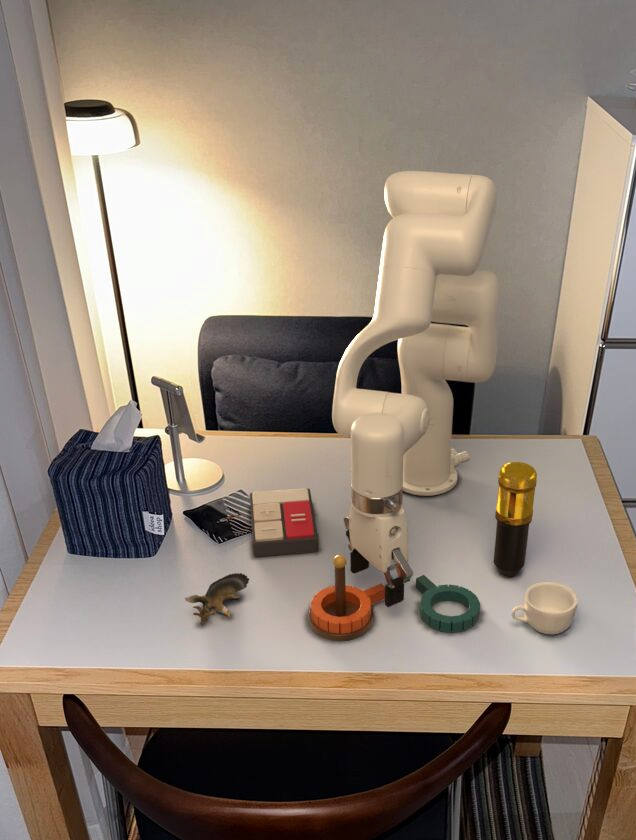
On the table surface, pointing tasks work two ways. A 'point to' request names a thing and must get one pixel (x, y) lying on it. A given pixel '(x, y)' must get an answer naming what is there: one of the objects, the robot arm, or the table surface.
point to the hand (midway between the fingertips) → (376, 586)
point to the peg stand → (340, 606)
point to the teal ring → (444, 593)
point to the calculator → (283, 522)
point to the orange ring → (352, 595)
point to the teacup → (548, 607)
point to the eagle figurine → (219, 595)
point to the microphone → (513, 516)
